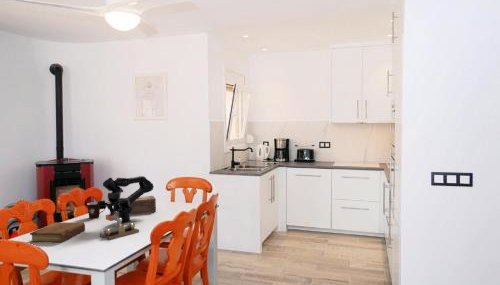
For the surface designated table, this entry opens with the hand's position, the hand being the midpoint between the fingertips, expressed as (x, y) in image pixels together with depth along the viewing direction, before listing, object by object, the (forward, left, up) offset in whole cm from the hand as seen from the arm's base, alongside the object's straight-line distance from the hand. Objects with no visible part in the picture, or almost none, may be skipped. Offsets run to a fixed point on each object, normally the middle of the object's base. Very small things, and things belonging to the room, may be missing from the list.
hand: (111, 215), depth 228 cm
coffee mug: (-9, -37, -8) cm, 39 cm away
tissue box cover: (-37, -30, -9) cm, 48 cm away
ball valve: (+3, +14, -8) cm, 17 cm away
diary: (+27, -11, -9) cm, 30 cm away
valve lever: (+3, +8, -1) cm, 9 cm away
